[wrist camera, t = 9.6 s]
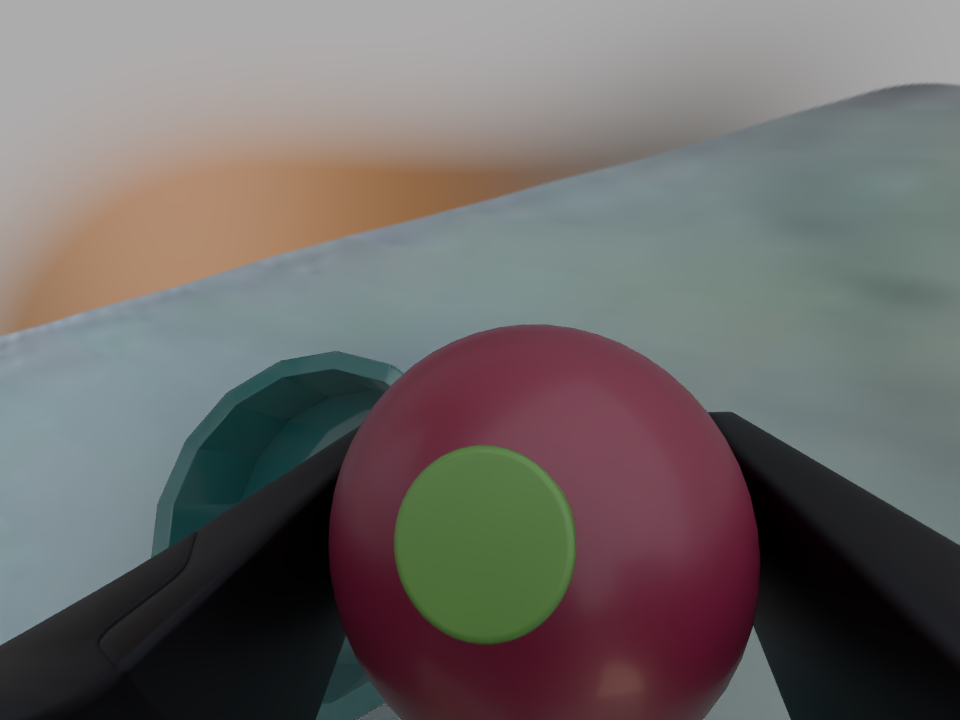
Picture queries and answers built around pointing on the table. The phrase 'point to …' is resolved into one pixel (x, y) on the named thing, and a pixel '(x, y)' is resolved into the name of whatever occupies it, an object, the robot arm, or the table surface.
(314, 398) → the pot
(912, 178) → the table surface
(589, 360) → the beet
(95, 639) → the robot arm
